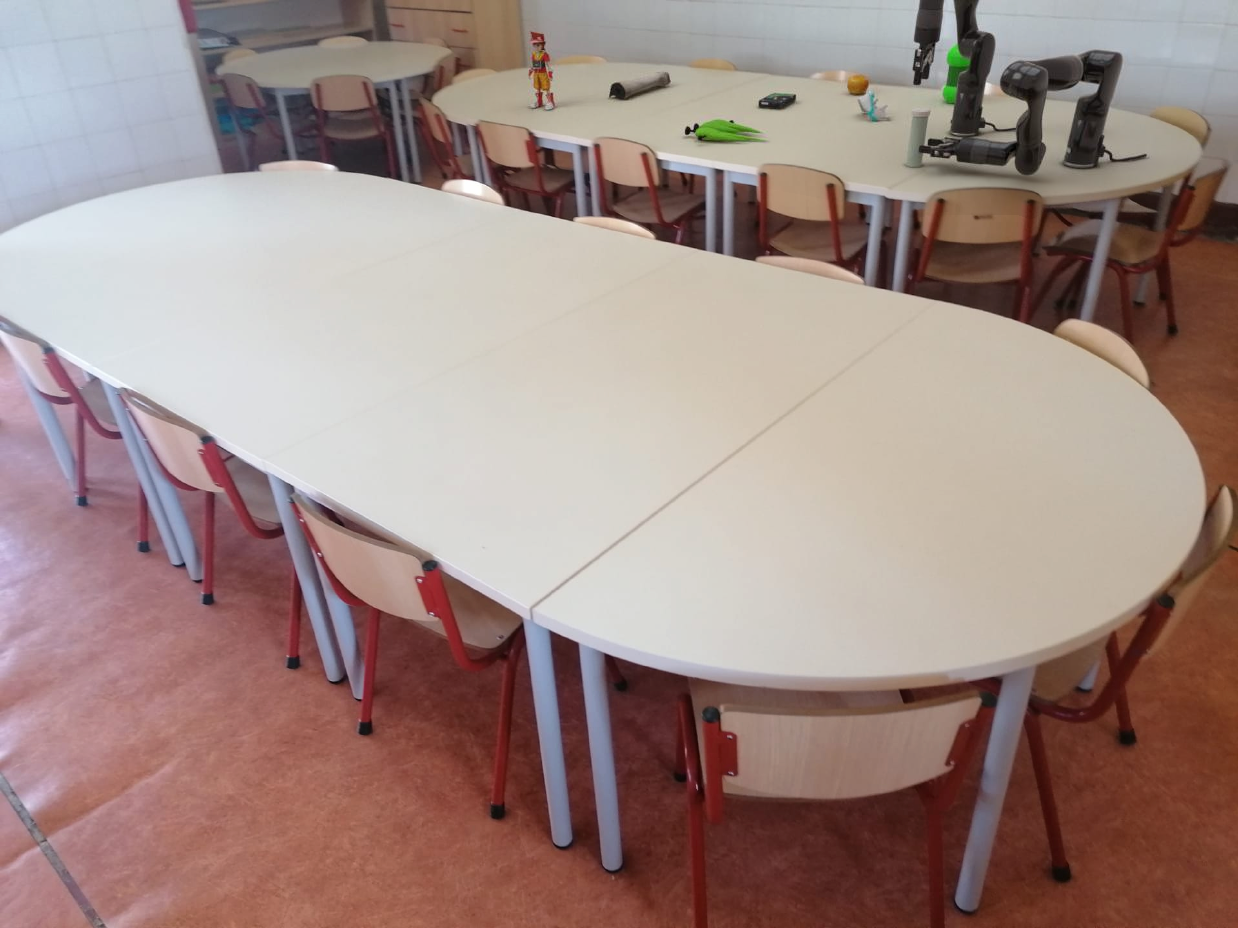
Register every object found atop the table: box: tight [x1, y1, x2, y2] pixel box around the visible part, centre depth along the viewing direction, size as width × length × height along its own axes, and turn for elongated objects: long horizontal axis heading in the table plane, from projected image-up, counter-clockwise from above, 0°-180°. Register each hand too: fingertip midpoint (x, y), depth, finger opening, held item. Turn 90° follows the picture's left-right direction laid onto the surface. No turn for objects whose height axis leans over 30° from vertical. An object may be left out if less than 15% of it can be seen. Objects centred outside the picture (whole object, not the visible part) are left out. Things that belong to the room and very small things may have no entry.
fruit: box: [846, 74, 870, 95], centre depth 372 cm, size 8×8×8 cm
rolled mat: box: [608, 71, 672, 101], centre depth 395 cm, size 30×9×10 cm
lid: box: [911, 107, 931, 117], centre depth 283 cm, size 6×6×2 cm
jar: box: [905, 116, 929, 168], centre depth 287 cm, size 5×5×17 cm
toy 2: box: [684, 119, 767, 142], centre depth 329 cm, size 28×5×30 cm
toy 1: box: [527, 31, 556, 111], centre depth 374 cm, size 12×9×30 cm
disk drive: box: [758, 92, 797, 110], centre depth 365 cm, size 10×3×15 cm
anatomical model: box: [857, 89, 892, 122], centre depth 341 cm, size 15×10×10 cm
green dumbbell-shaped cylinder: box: [942, 42, 970, 104], centre depth 348 cm, size 10×10×25 cm
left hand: (920, 82), depth 279 cm, fingers open, 8 cm apart
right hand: (923, 145), depth 287 cm, fingers open, 8 cm apart
